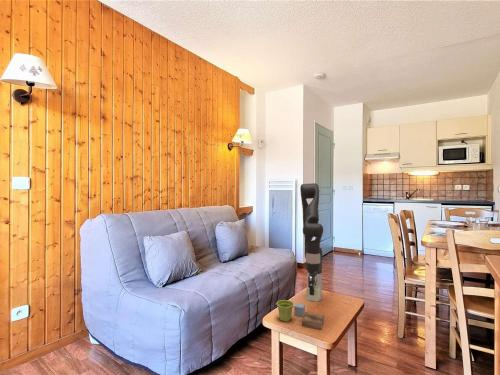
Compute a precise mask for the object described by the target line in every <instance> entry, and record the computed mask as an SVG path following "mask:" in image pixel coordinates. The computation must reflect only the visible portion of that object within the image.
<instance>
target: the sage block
mask: <svg viewBox="0 0 500 375" xmlns="http://www.w3.org/2000/svg"><path fill="white" fill-rule="evenodd" d="M311 286H312V285H311ZM305 290H306V291H305V294H306V295H305V296H306V297H305V298H306V301H311V302H316V303H317V302H320V301H319V298H320V286H317V285H314V295H310V288H308V287H307V286H306V289H305Z"/></svg>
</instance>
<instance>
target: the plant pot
mask: <svg viewBox="0 0 500 375" xmlns="http://www.w3.org/2000/svg"><path fill="white" fill-rule="evenodd" d="M276 306H277V309H278V316H279V320H280V321H283V322H286V323H287V322H290V321H291V320H292V313H293V312H292V311H293V309H294V308H293V307H294V306H295V305H294V302H293V301H291V300H289V299H288V300H287V299H281V300H277V302H276Z"/></svg>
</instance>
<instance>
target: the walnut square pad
mask: <svg viewBox="0 0 500 375" xmlns="http://www.w3.org/2000/svg"><path fill="white" fill-rule="evenodd" d="M324 323H325V315H324V314H318V313H312V312H306V311H305V314H304V316H303V317H302V319H301V327H304V328H305V327H306V328H309V329H310V328H311V329H315V330H321V331H322V330H323V329H322V328H323V325H324Z"/></svg>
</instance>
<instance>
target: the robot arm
mask: <svg viewBox="0 0 500 375" xmlns="http://www.w3.org/2000/svg"><path fill="white" fill-rule="evenodd" d="M299 190H300V199H301V208H302V224H303V225H302V234H303V237H304V259H305V270H306V276H307V277H306V278H307V279H306V281H307V285H306V288H307V287H308V288H310V295H314V285H317V286H320V298H319V301H318V302H320V301H322V299H323V271H322V270H323V249H322V247H321V240H322V237H323V234H324V227H323V225H322V224H321V223H319V220H320V215H319V202H320V188H319V185H318V183H301V184H300V189H299ZM307 199H308V200H309V199H310V200H311V199H312V200H311V201H310V203H308V201H307ZM313 238H315V239H313ZM311 285H312V286H311Z"/></svg>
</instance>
